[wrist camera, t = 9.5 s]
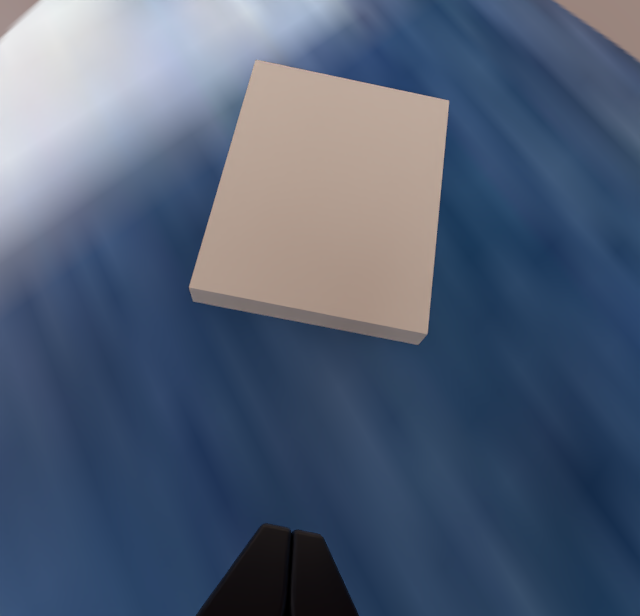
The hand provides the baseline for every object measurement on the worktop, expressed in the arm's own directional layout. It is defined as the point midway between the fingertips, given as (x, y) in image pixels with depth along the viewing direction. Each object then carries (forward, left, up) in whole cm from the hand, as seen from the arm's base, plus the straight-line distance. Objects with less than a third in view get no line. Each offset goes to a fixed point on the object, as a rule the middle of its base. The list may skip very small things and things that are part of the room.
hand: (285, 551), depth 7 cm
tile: (+4, -4, -7) cm, 9 cm away
